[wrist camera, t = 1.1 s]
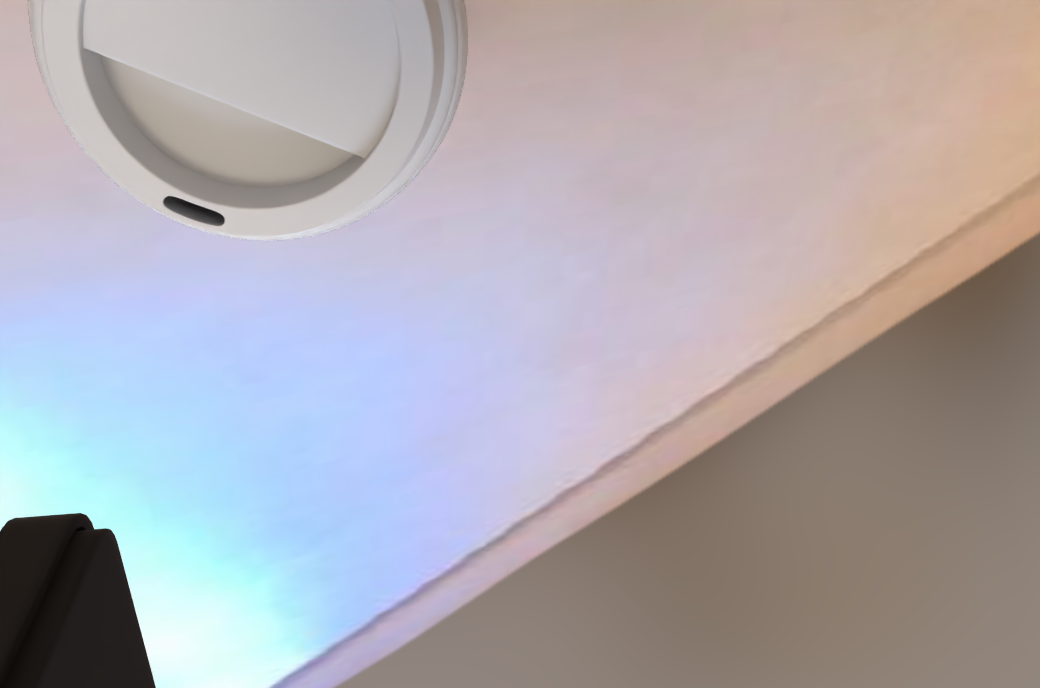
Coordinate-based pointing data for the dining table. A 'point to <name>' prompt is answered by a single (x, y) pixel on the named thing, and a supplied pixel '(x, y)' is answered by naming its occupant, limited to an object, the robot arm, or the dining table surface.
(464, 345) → the dining table surface
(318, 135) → the coffee cup
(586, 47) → the dining table surface
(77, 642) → the robot arm
